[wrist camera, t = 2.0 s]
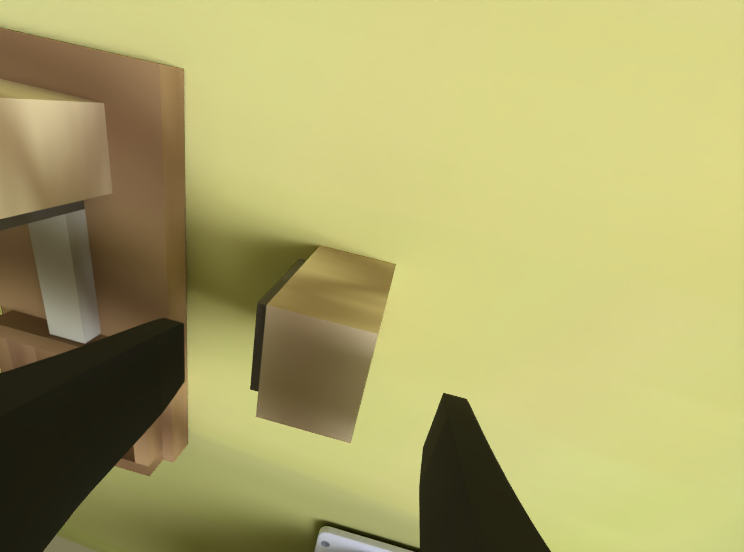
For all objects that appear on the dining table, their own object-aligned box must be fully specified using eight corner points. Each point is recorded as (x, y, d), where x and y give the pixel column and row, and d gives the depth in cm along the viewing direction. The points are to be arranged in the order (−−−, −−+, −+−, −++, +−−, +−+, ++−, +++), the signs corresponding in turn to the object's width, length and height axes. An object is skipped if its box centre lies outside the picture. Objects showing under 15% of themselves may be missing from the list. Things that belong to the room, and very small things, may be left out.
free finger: (396, 264, 14) (378, 334, 9) (374, 349, 16) (350, 443, 11) (308, 242, 14) (248, 300, 10) (295, 328, 16) (240, 412, 11)
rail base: (187, 443, 20) (89, 573, 14) (51, 404, 20) (-96, 514, 15) (183, 68, 12) (-28, 26, 7) (-32, 20, 13) (-400, -59, 7)
